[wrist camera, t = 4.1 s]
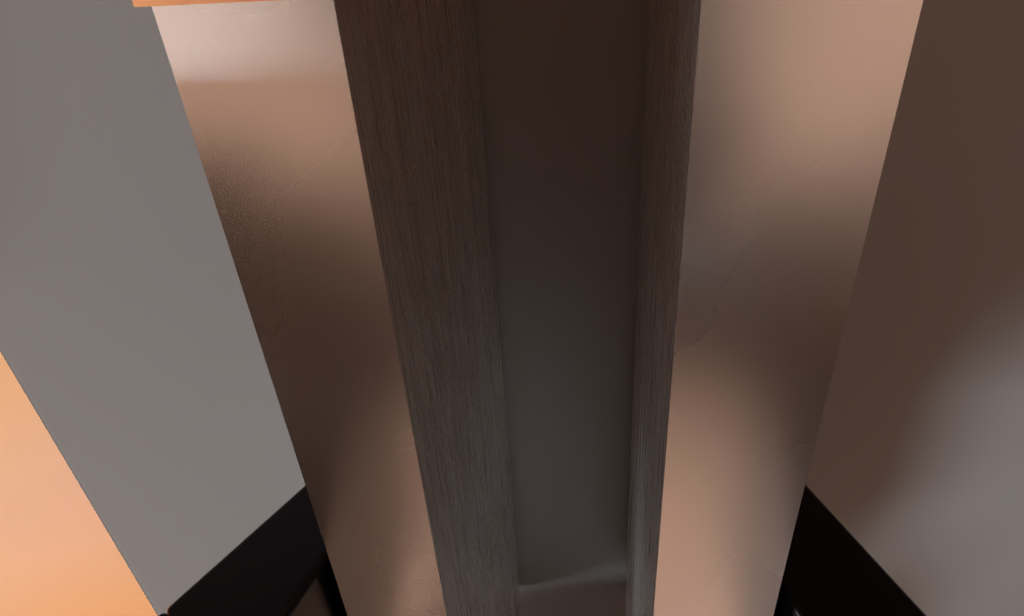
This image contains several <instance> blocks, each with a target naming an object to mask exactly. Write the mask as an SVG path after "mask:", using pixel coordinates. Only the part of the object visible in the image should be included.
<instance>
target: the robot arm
mask: <svg viewBox="0 0 1024 616" xmlns="http://www.w3.org/2000/svg"><path fill="white" fill-rule="evenodd" d="M159 616H347V613H346V610H345V606H344V603H343V600H342V597H341V594H340V591H339V588H338V585H337V582H336V578H335V575H334V572H333V569H332V566H331V563H330V560H329V557H328V554H327V550H326V547H325V544H324V541H323V538H322V535H321V532H320V529H319V526H318V522H317V519H316V516H315V513H314V510H313V507H312V504H311V501H310V498H309V494H308V491H307V488H306V485H305V486H304V487H303V488H302V489H301V490H299V491H298V492H297V493H296V494H295V495H294V496H293V497H292V498H291V499H289V500H288V501H287V502H286V503H285V504H284V505H283V506H282V507H280V508H279V509H278V510H277V511H276V512H275V513H274V514H273V515H271V516H270V517H269V518H268V519H267V520H266V521H265V522H264V523H262V524H261V525H260V526H259V527H258V528H257V529H256V530H255V531H253V532H252V533H251V534H250V535H249V536H248V537H247V538H246V539H244V540H243V541H242V542H241V543H240V544H239V545H238V546H237V547H235V548H234V549H233V550H232V551H231V552H230V553H229V554H228V555H227V556H225V557H224V558H223V559H222V560H221V561H220V562H219V563H218V564H216V565H215V566H214V567H213V568H212V569H211V570H210V571H209V572H207V573H206V574H205V575H204V576H203V577H202V578H201V579H200V580H198V581H197V582H196V583H195V584H194V585H193V586H192V587H191V588H189V589H188V590H187V591H186V592H185V593H184V594H183V595H182V596H180V597H179V598H178V599H177V600H176V601H175V602H174V603H173V604H171V605H170V606H169V607H168V609H167V614H166V613H162V614H160V615H159ZM773 616H926V615H925V613H924V612H923V611H922V610H921V609H920V608H919V607H918V606H917V605H916V604H915V603H914V602H913V600H912V599H911V598H910V597H909V596H908V595H907V594H906V593H905V592H904V591H903V590H902V589H901V587H900V586H899V585H898V584H897V583H896V582H895V581H894V580H893V579H892V578H891V577H890V576H889V574H888V573H887V572H886V571H885V570H884V569H883V568H882V567H881V566H880V565H879V564H878V563H877V561H876V560H875V559H874V558H873V557H872V556H871V555H870V554H869V553H868V552H867V551H866V550H865V548H864V547H863V546H862V545H861V544H860V543H859V542H858V541H857V540H856V539H855V538H854V536H853V535H852V534H851V533H850V532H849V531H848V530H847V529H846V528H845V527H844V526H843V525H842V523H841V522H840V521H839V520H838V519H837V518H836V517H835V516H834V515H833V514H832V513H831V512H830V510H829V509H828V508H827V507H826V506H825V505H824V504H823V503H822V502H821V501H820V500H819V499H818V497H817V496H816V495H815V494H814V493H813V492H812V491H811V490H810V489H809V488H808V487H807V486H806V484H805V488H804V492H803V496H802V500H801V504H800V508H799V512H798V516H797V520H796V525H795V529H794V533H793V537H792V541H791V545H790V549H789V553H788V557H787V561H786V566H785V570H784V574H783V578H782V582H781V586H780V590H779V594H778V598H777V602H776V607H775V611H774V615H773Z"/></svg>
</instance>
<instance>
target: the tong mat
mask: <svg viewBox="0 0 1024 616" xmlns="http://www.w3.org/2000/svg"><path fill="white" fill-rule="evenodd" d="M473 3H474V16H475V29H476V41H477V54H478V67H479V80H480V92H481V105H482V118H483V130H484V143H485V156H486V168H487V181H488V194H489V206H490V219H491V232H492V245H493V257H494V270H495V283H496V295H497V308H498V321H499V333H500V346H501V359H502V371H503V384H504V397H505V410H506V422H507V435H508V448H509V460H510V473H511V486H512V498H513V511H514V524H515V537H516V549H517V562H518V575H519V587H520V603H519V612H518V616H625V589H626V562H627V536H628V509H629V483H630V457H631V430H632V404H633V378H634V351H635V325H636V299H637V272H638V246H639V220H640V193H641V167H642V141H643V114H644V88H645V61H646V35H647V9H648V0H473ZM0 352H1V353H2V355H3V357H4V358H5V360H6V362H7V363H8V365H9V367H10V368H11V370H12V372H13V373H14V375H15V377H16V378H17V380H18V382H19V384H20V385H21V387H22V389H23V390H24V392H25V394H26V395H27V397H28V399H29V400H30V402H31V404H32V405H33V407H34V409H35V410H36V412H37V414H38V415H39V417H40V419H41V420H42V422H43V424H44V426H45V427H46V429H47V431H48V432H49V434H50V436H51V437H52V439H53V441H54V442H55V444H56V446H57V447H58V449H59V451H60V452H61V454H62V456H63V457H64V459H65V461H66V463H67V464H68V466H69V468H70V469H71V471H72V473H73V474H74V476H75V478H76V479H77V481H78V483H79V484H80V486H81V488H82V489H83V491H84V493H85V494H86V496H87V498H88V499H89V501H90V503H91V505H92V506H93V508H94V510H95V511H96V513H97V515H98V516H99V518H100V520H101V521H102V523H103V525H104V526H105V528H106V530H107V531H108V533H109V535H110V536H111V538H112V540H113V541H114V543H115V545H116V547H117V548H118V550H119V552H120V553H121V555H122V557H123V558H124V560H125V562H126V563H127V565H128V567H129V568H130V570H131V572H132V573H133V575H134V577H135V578H136V580H137V582H138V584H139V585H140V587H141V589H142V590H143V592H144V594H145V595H146V597H147V599H148V600H149V602H150V604H151V605H152V607H153V609H154V610H155V612H156V614H157V615H158V616H159V615H160V614H162V613H166V614H167V609H168V607H169V606H170V605H171V604H173V603H174V602H175V601H176V600H177V599H178V598H179V597H180V596H182V595H183V594H184V593H185V592H186V591H187V590H188V589H189V588H191V587H192V586H193V585H194V584H195V583H196V582H197V581H198V580H200V579H201V578H202V577H203V576H204V575H205V574H206V573H207V572H209V571H210V570H211V569H212V568H213V567H214V566H215V565H216V564H218V563H219V562H220V561H221V560H222V559H223V558H224V557H225V556H227V555H228V554H229V553H230V552H231V551H232V550H233V549H234V548H235V547H237V546H238V545H239V544H240V543H241V542H242V541H243V540H244V539H246V538H247V537H248V536H249V535H250V534H251V533H252V532H253V531H255V530H256V529H257V528H258V527H259V526H260V525H261V524H262V523H264V522H265V521H266V520H267V519H268V518H269V517H270V516H271V515H273V514H274V513H275V512H276V511H277V510H278V509H279V508H280V507H282V506H283V505H284V504H285V503H286V502H287V501H288V500H289V499H291V498H292V497H293V496H294V495H295V494H296V493H297V492H298V491H299V490H301V489H302V488H303V487H304V486H305V482H304V479H303V476H302V473H301V470H300V466H299V463H298V460H297V457H296V454H295V451H294V448H293V445H292V442H291V439H290V435H289V432H288V429H287V426H286V423H285V420H284V417H283V414H282V411H281V407H280V404H279V401H278V398H277V395H276V392H275V389H274V386H273V383H272V379H271V376H270V373H269V370H268V367H267V364H266V361H265V358H264V355H263V351H262V348H261V345H260V342H259V339H258V336H257V333H256V330H255V327H254V323H253V320H252V317H251V314H250V311H249V308H248V305H247V302H246V299H245V295H244V292H243V289H242V286H241V283H240V280H239V277H238V274H237V271H236V267H235V264H234V261H233V258H232V255H231V252H230V249H229V246H228V243H227V239H226V236H225V233H224V230H223V227H222V224H221V221H220V218H219V215H218V211H217V208H216V205H215V202H214V199H213V196H212V193H211V190H210V187H209V183H208V180H207V177H206V174H205V171H204V168H203V165H202V162H201V159H200V155H199V152H198V149H197V146H196V143H195V140H194V137H193V134H192V131H191V127H190V124H189V121H188V118H187V115H186V112H185V109H184V106H183V103H182V99H181V96H180V93H179V90H178V87H177V84H176V81H175V78H174V75H173V71H172V68H171V65H170V62H169V59H168V56H167V53H166V50H165V47H164V43H163V40H162V37H161V34H160V31H159V28H158V25H157V22H156V19H155V15H154V12H153V9H152V6H147V7H134V5H133V2H132V0H0ZM806 486H807V487H808V488H809V489H810V490H811V491H812V492H813V493H814V494H815V495H816V496H817V497H818V499H819V500H820V501H821V502H822V503H823V504H824V505H825V506H826V507H827V508H828V509H829V510H830V512H831V513H832V514H833V515H834V516H835V517H836V518H837V519H838V520H839V521H840V522H841V523H842V525H843V526H844V527H845V528H846V529H847V530H848V531H849V532H850V533H851V534H852V535H853V536H854V538H855V539H856V540H857V541H858V542H859V543H860V544H861V545H862V546H863V547H864V548H865V550H866V551H867V552H868V553H869V554H870V555H871V556H872V557H873V558H874V559H875V560H876V561H877V563H878V564H879V565H880V566H881V567H882V568H883V569H884V570H885V571H886V572H887V573H888V574H889V576H890V577H891V578H892V579H893V580H894V581H895V582H896V583H897V584H898V585H899V586H900V587H901V589H902V590H903V591H904V592H905V593H906V594H907V595H908V596H909V597H910V598H911V599H912V600H913V602H914V603H915V604H916V605H917V606H918V607H919V608H920V609H921V610H922V611H923V612H924V613H925V615H926V616H1024V0H923V4H922V8H921V12H920V16H919V20H918V24H917V29H916V33H915V37H914V41H913V45H912V49H911V53H910V57H909V61H908V65H907V70H906V74H905V78H904V82H903V86H902V90H901V94H900V98H899V102H898V106H897V111H896V115H895V119H894V123H893V127H892V131H891V135H890V139H889V143H888V147H887V152H886V156H885V160H884V164H883V168H882V172H881V176H880V180H879V184H878V188H877V193H876V197H875V201H874V205H873V209H872V213H871V217H870V221H869V225H868V229H867V234H866V238H865V242H864V246H863V250H862V254H861V258H860V262H859V266H858V270H857V274H856V279H855V283H854V287H853V291H852V295H851V299H850V303H849V307H848V311H847V315H846V320H845V324H844V328H843V332H842V336H841V340H840V344H839V348H838V352H837V356H836V361H835V365H834V369H833V373H832V377H831V381H830V385H829V389H828V393H827V397H826V402H825V406H824V410H823V414H822V418H821V422H820V426H819V430H818V434H817V438H816V443H815V447H814V451H813V455H812V459H811V463H810V467H809V471H808V475H807V479H806Z"/></svg>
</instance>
